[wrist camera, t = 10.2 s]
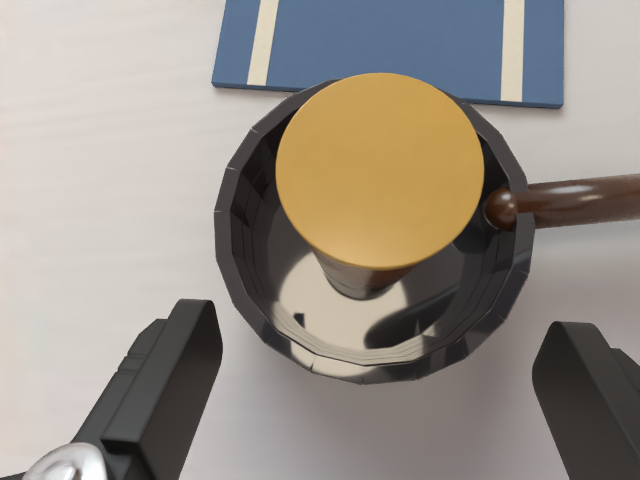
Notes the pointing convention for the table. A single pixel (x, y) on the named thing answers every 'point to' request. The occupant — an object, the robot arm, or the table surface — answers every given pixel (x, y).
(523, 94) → the tea towel
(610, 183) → the pan handle
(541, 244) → the table surface
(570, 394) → the robot arm
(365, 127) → the chocolate tin
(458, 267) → the pan
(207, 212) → the table surface
